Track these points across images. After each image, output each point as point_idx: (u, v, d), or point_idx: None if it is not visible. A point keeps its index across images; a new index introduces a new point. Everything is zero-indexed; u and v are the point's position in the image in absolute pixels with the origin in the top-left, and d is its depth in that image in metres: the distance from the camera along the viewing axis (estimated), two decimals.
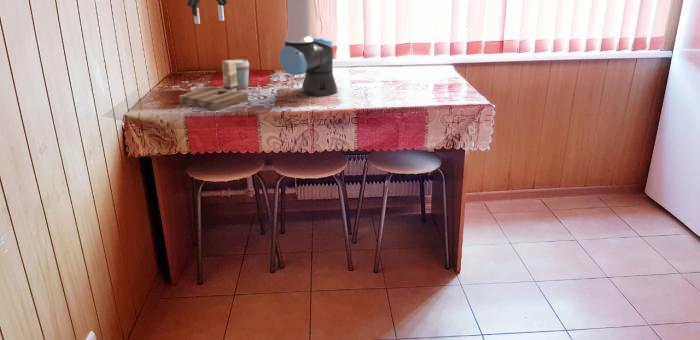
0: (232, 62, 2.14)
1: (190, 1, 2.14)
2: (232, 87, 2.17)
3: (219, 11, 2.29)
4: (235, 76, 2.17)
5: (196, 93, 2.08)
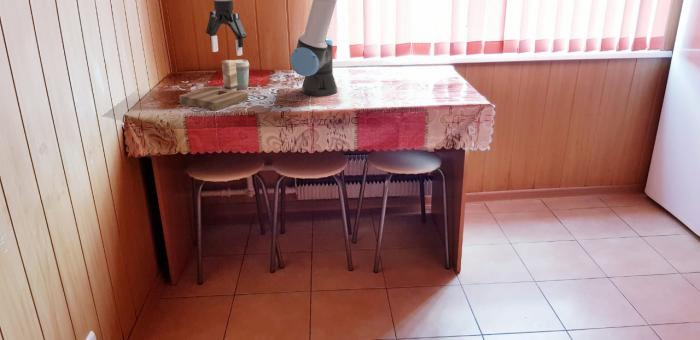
0: (232, 62, 2.14)
1: None
2: (232, 87, 2.17)
3: None
4: (235, 76, 2.17)
5: (196, 93, 2.08)
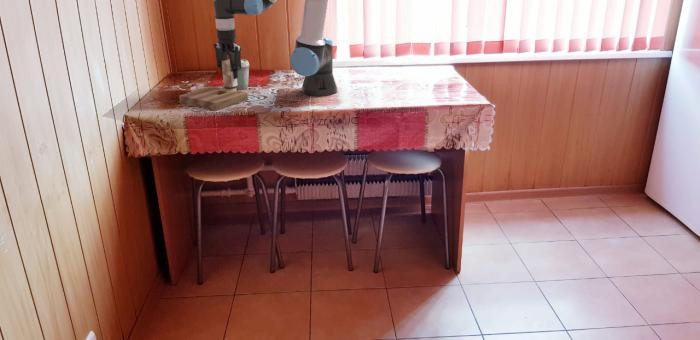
0: None
1: None
2: (232, 87, 2.17)
3: None
4: None
5: (196, 93, 2.08)
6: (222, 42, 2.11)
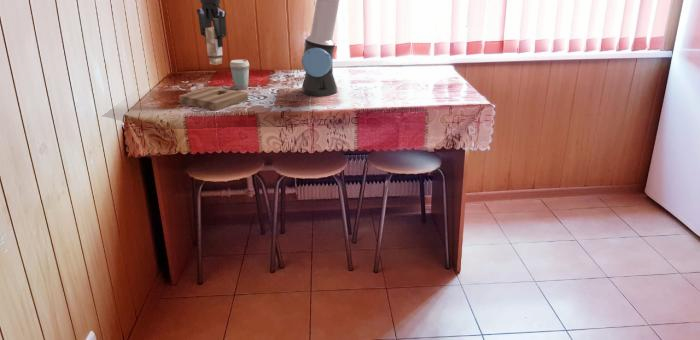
0: None
1: None
2: (217, 57, 2.02)
3: None
4: None
5: (196, 93, 2.08)
6: (206, 7, 1.97)
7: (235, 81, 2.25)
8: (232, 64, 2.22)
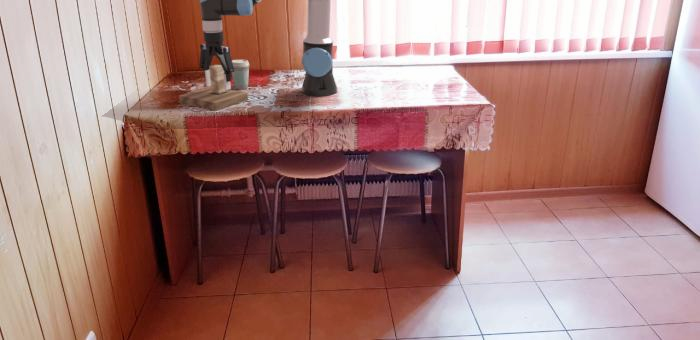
0: (220, 67, 2.05)
1: None
2: (220, 93, 2.08)
3: None
4: (223, 82, 2.08)
5: (196, 93, 2.08)
6: (209, 46, 2.02)
7: (235, 81, 2.25)
8: None
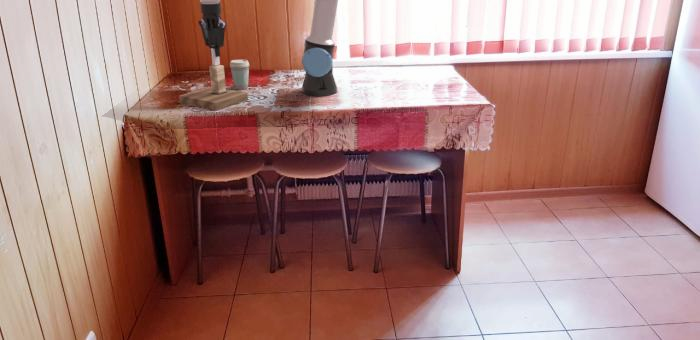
0: (220, 67, 2.05)
1: None
2: (220, 93, 2.08)
3: None
4: (223, 82, 2.08)
5: (196, 93, 2.08)
6: (206, 16, 1.98)
7: (235, 81, 2.25)
8: (232, 64, 2.22)
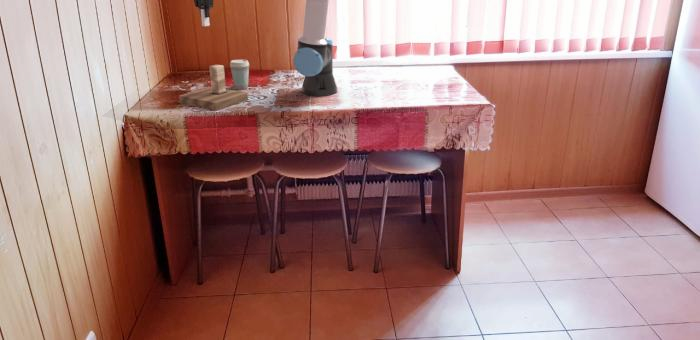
0: (220, 67, 2.05)
1: None
2: (220, 93, 2.08)
3: None
4: (223, 82, 2.08)
5: (196, 93, 2.08)
6: None
7: (235, 81, 2.25)
8: (232, 64, 2.22)
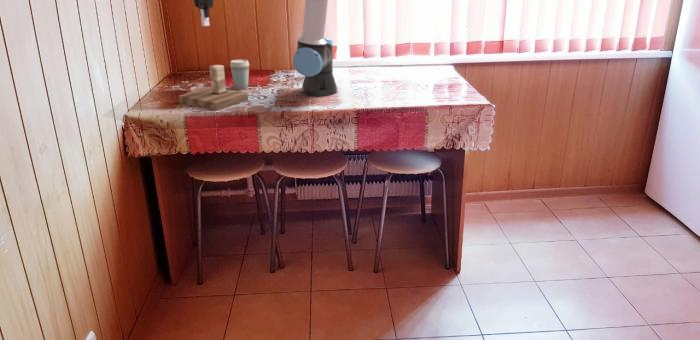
0: (220, 67, 2.05)
1: None
2: (220, 93, 2.08)
3: None
4: (223, 82, 2.08)
5: (196, 93, 2.08)
6: None
7: (235, 81, 2.25)
8: (232, 64, 2.22)
